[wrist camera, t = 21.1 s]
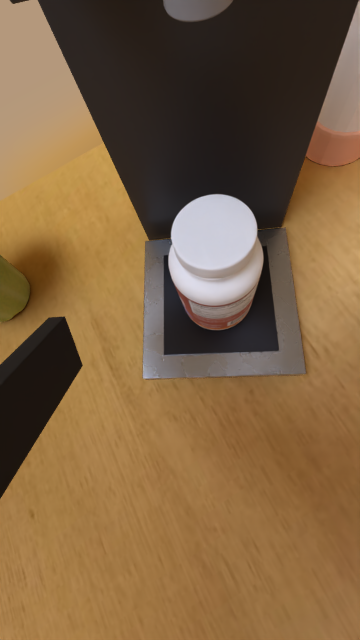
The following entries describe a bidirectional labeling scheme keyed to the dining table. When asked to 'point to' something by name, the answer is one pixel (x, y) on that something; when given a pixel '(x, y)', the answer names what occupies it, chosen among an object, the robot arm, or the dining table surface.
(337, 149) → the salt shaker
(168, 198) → the coffee maker
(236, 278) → the pill bottle
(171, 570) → the dining table surface
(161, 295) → the drip tray
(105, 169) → the dining table surface
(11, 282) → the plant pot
